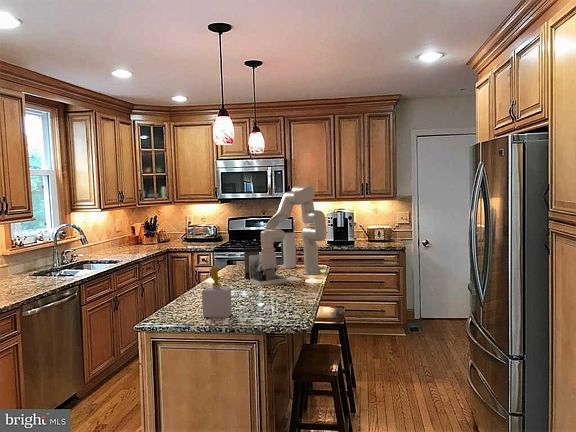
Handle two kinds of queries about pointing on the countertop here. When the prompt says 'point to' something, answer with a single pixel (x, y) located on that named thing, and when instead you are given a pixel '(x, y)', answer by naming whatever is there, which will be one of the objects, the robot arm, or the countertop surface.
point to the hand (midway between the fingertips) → (268, 280)
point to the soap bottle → (216, 298)
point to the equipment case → (257, 276)
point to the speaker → (288, 250)
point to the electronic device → (248, 253)
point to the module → (270, 274)
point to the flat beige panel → (293, 279)
